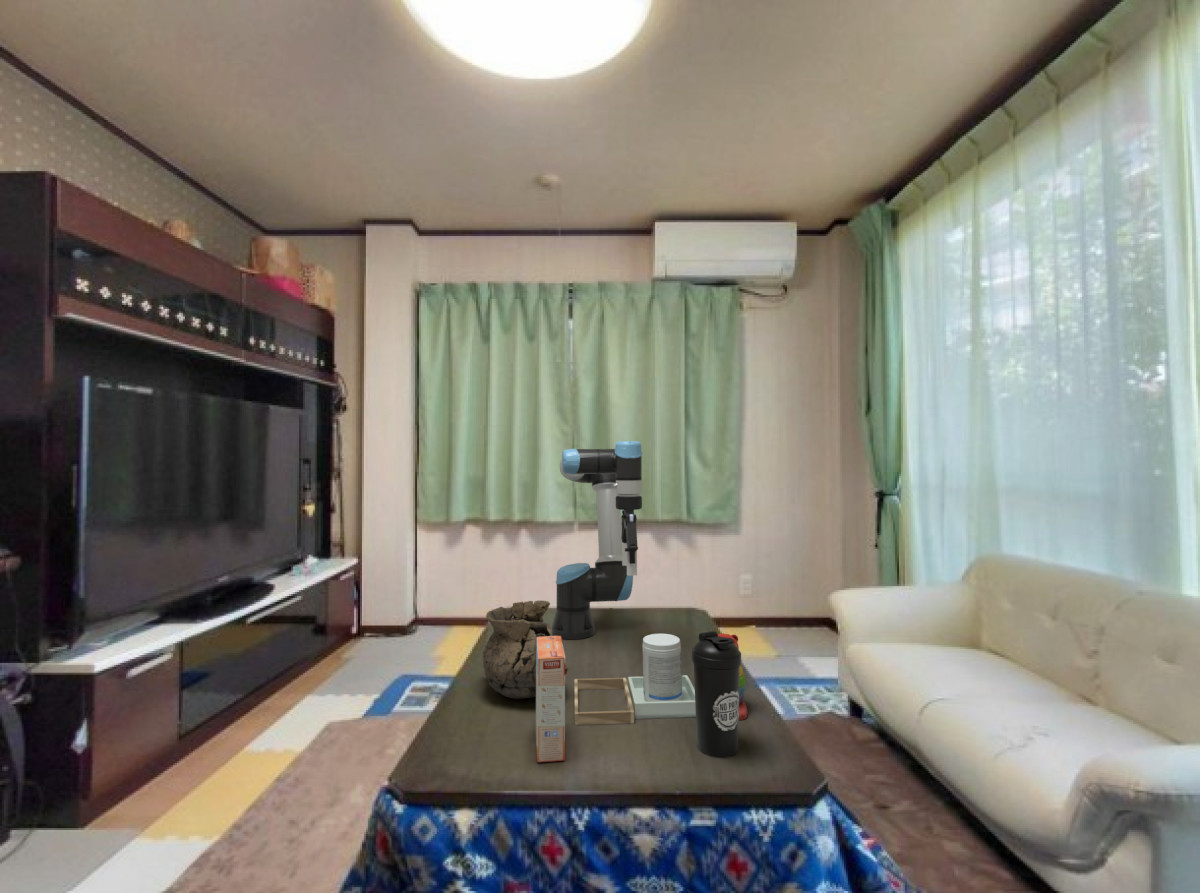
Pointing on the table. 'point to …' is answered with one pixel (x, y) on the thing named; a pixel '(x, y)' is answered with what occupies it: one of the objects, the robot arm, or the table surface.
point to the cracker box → (550, 699)
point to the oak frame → (603, 716)
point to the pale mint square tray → (662, 708)
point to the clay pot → (515, 648)
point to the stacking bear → (741, 682)
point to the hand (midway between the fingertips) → (629, 570)
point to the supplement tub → (662, 668)
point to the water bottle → (716, 694)
